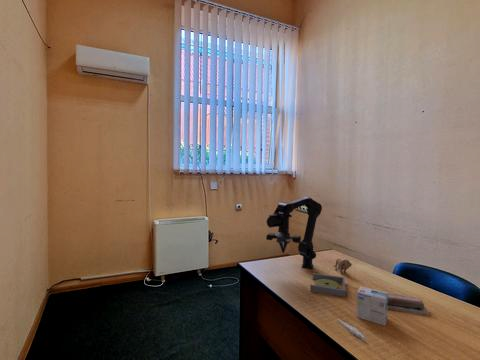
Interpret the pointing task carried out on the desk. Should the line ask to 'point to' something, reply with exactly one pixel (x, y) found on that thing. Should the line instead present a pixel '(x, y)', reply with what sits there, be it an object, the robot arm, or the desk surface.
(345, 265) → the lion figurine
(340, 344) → the desk surface
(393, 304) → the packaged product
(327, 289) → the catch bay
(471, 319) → the desk surface
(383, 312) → the light bulb box
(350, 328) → the stylus pen
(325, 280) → the green speckled disc
